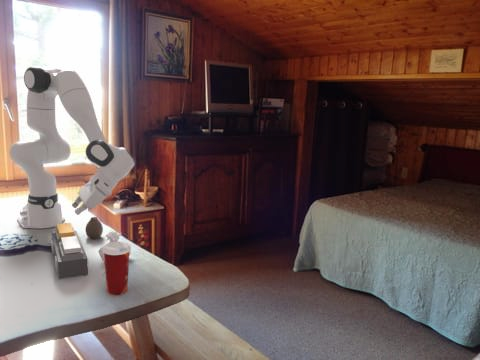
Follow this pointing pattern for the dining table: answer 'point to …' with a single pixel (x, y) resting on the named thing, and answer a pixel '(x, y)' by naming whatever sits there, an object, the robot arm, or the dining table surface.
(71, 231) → the amber switch
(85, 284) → the dining table surface
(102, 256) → the bust
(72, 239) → the white flat block
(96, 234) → the vase
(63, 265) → the power strip
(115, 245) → the coffee cup
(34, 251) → the dining table surface
